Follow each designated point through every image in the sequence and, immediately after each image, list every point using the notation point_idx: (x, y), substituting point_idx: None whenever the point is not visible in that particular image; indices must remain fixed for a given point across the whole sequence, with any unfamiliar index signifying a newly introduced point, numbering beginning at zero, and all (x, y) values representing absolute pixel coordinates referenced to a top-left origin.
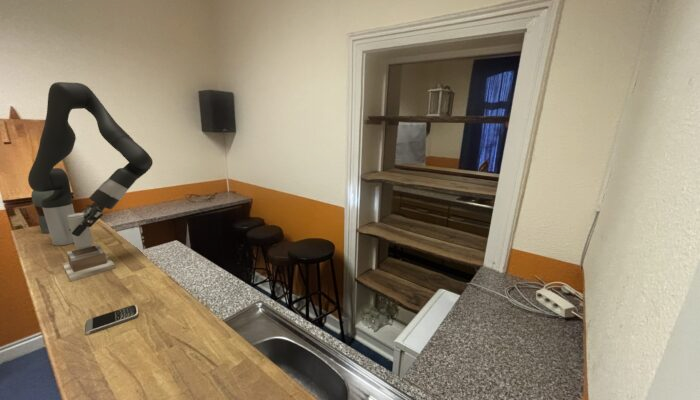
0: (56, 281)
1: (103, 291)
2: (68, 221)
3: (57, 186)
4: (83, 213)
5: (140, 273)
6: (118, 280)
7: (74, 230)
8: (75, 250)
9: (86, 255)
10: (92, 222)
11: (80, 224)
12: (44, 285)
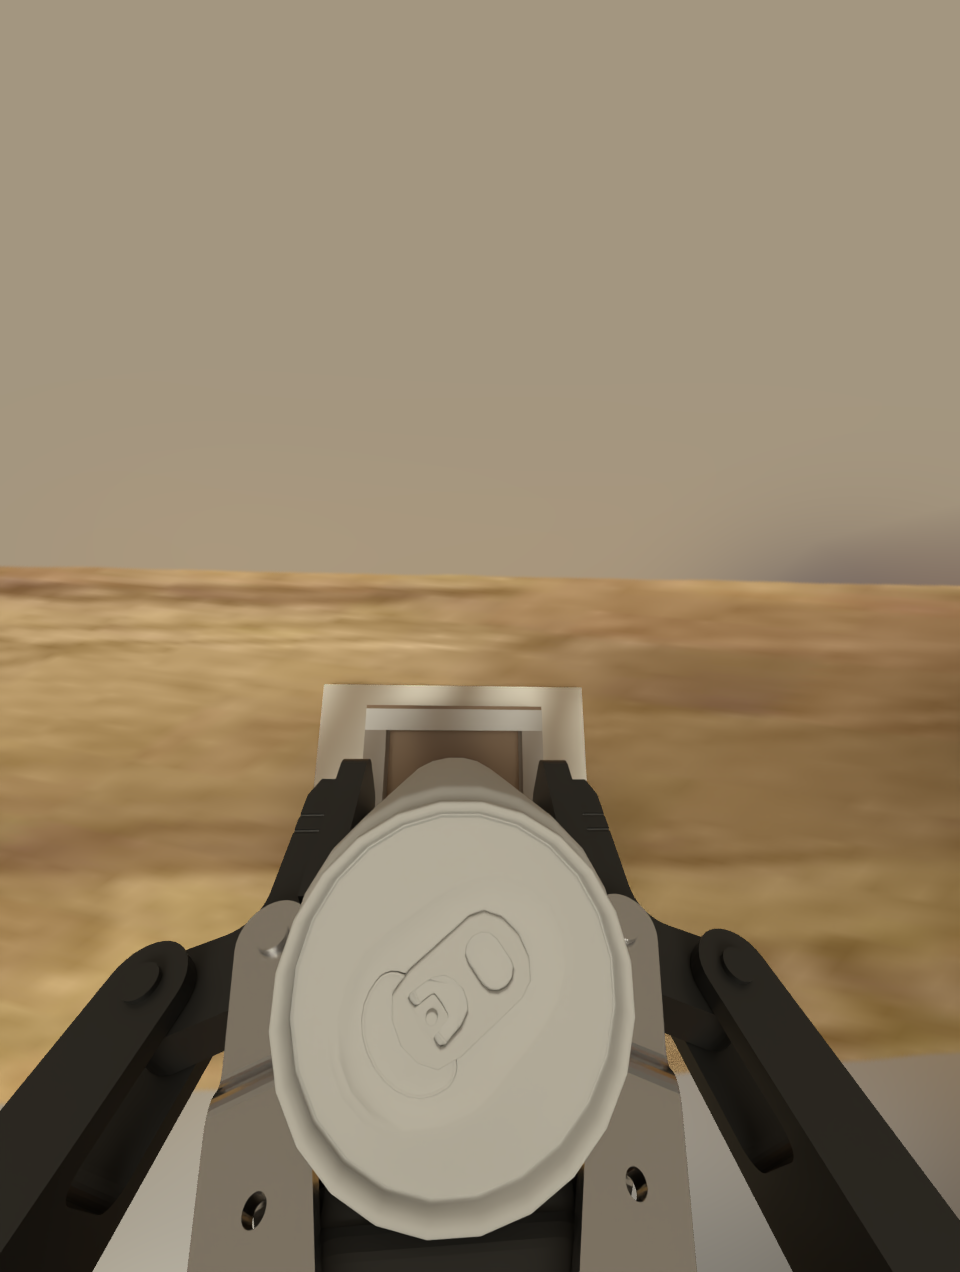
0: (394, 643)
1: (42, 777)
2: (438, 779)
3: None
4: (516, 1181)
5: (74, 995)
6: (105, 865)
7: (333, 795)
8: (522, 754)
9: None
10: (108, 1129)
11: (270, 909)
12: (390, 603)
